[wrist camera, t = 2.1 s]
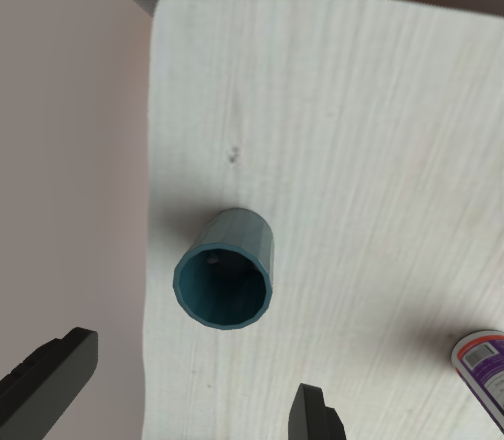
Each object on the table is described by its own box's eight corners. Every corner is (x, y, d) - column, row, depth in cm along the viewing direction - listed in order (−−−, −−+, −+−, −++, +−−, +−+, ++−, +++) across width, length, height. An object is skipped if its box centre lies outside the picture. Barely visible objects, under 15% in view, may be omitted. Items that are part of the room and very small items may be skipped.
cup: (191, 230, 22) (153, 273, 15) (248, 194, 20) (234, 224, 14) (230, 282, 23) (211, 343, 16) (287, 252, 21) (290, 305, 15)
